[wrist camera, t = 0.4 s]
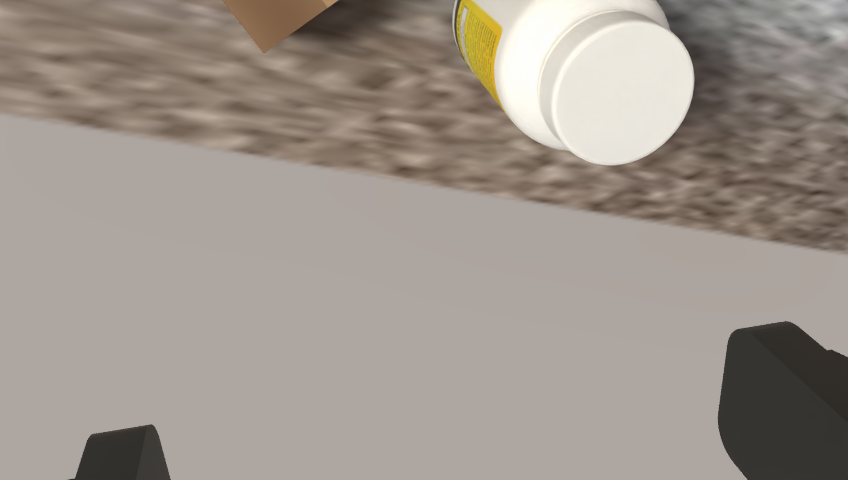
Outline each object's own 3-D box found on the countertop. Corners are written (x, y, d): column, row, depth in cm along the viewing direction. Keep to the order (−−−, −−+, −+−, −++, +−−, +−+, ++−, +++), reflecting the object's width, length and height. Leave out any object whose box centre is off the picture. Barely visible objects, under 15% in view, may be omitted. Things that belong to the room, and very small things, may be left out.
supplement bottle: (528, 110, 30) (623, 223, 22) (421, 32, 28) (480, 124, 20) (619, -4, 29) (759, 70, 20) (513, -96, 27) (621, -56, 18)
